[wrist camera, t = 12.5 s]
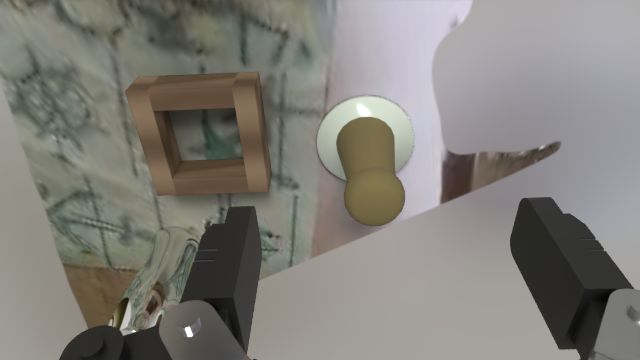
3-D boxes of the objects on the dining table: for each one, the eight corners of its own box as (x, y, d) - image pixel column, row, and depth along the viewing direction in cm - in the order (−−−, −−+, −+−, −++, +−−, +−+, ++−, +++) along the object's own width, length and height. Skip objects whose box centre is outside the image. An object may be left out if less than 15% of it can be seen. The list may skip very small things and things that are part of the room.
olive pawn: (399, 160, 47) (418, 228, 38) (343, 172, 48) (349, 243, 39) (388, 109, 43) (406, 172, 34) (329, 124, 44) (331, 189, 35)
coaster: (314, 97, 44) (314, 100, 43) (416, 93, 43) (418, 96, 43) (319, 180, 49) (319, 184, 49) (409, 177, 49) (410, 181, 48)
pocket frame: (138, 76, 42) (125, 91, 40) (258, 71, 42) (254, 86, 39) (167, 176, 49) (157, 195, 46) (271, 173, 49) (268, 192, 46)
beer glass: (207, 266, 57) (176, 374, 45) (153, 264, 57) (106, 372, 44) (203, 225, 53) (167, 331, 41) (144, 222, 53) (90, 328, 40)
